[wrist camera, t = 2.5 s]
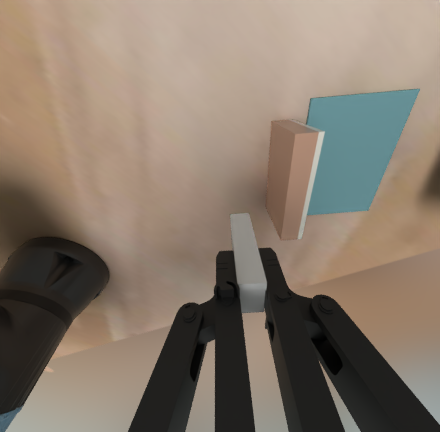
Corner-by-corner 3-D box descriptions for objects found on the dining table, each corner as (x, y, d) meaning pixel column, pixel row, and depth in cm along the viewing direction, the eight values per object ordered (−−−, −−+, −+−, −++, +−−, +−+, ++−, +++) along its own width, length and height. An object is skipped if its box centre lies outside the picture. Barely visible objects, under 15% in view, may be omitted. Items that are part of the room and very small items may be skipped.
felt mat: (291, 215, 30) (292, 216, 30) (310, 98, 22) (311, 98, 21) (367, 209, 30) (368, 210, 30) (417, 89, 21) (420, 88, 21)
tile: (265, 206, 29) (280, 240, 23) (271, 120, 23) (295, 134, 16) (281, 205, 29) (301, 238, 23) (292, 119, 23) (324, 131, 16)
